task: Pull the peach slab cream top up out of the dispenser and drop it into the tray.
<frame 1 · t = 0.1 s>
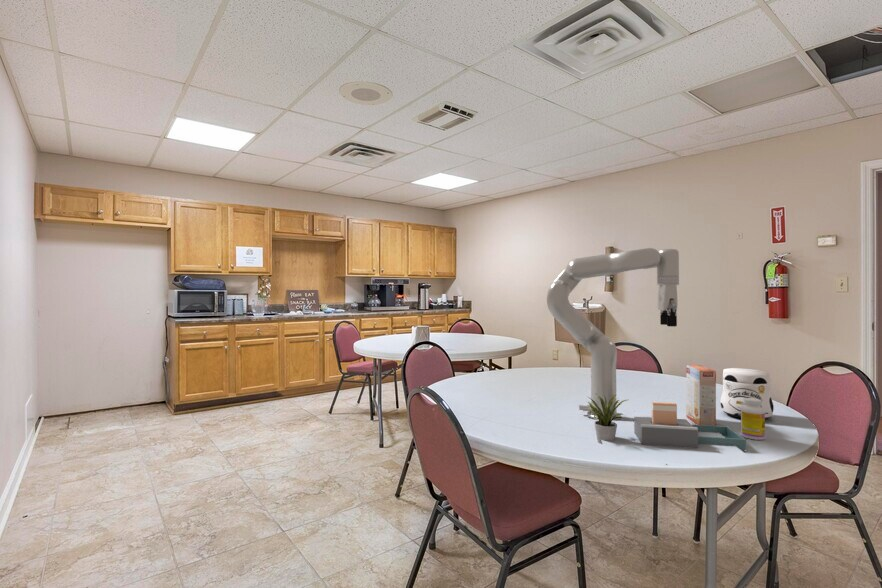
hand: (668, 325, 170), 37 cm above the table, tool pointing down, fingers open, 9 cm apart
peach slab cream top: (664, 439, 143), point 1 cm above the table, touching dispenser
dispenser: (664, 444, 143), on the table
milk container: (746, 417, 175), on the table
cracker box: (700, 422, 168), on the table
house plant: (609, 442, 146), on the table
supplement bottle: (753, 438, 150), on the table
tray: (712, 441, 145), on the table
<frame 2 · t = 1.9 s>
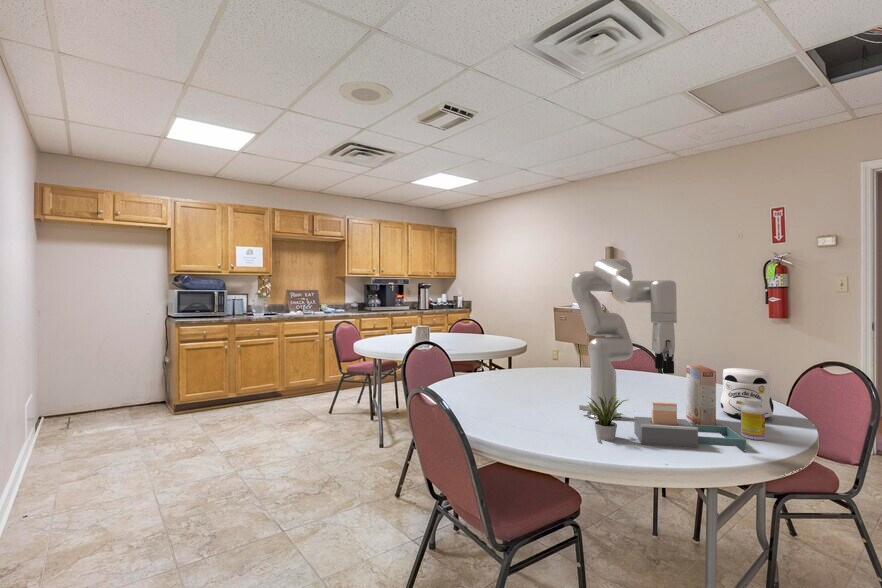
hand: (664, 370, 143), 24 cm above the table, tool pointing down, fingers open, 9 cm apart
nothing on the table moved.
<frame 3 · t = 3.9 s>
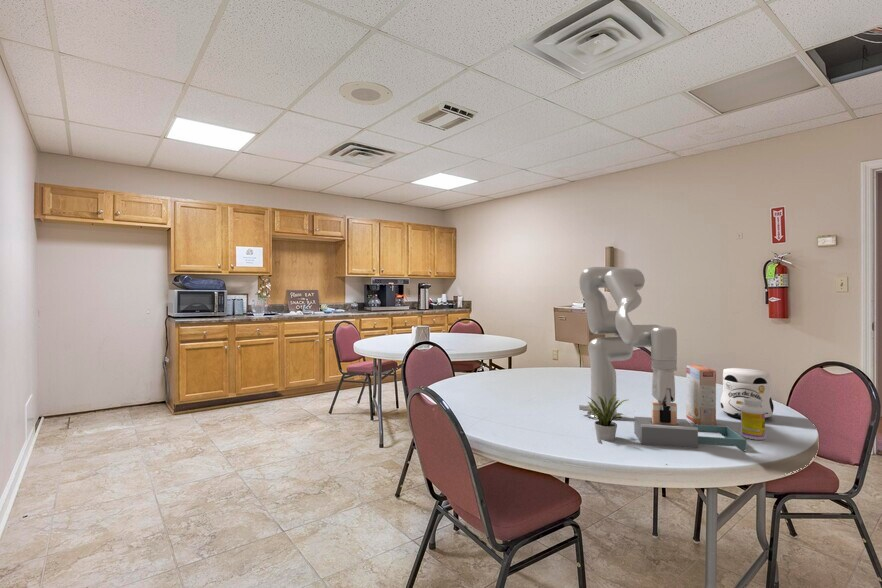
hand: (664, 421, 143), 8 cm above the table, tool pointing down, fingers closed on peach slab cream top, 1 cm apart
peach slab cream top: (664, 439, 143), point 2 cm above the table, touching gripper
everything else where it was.
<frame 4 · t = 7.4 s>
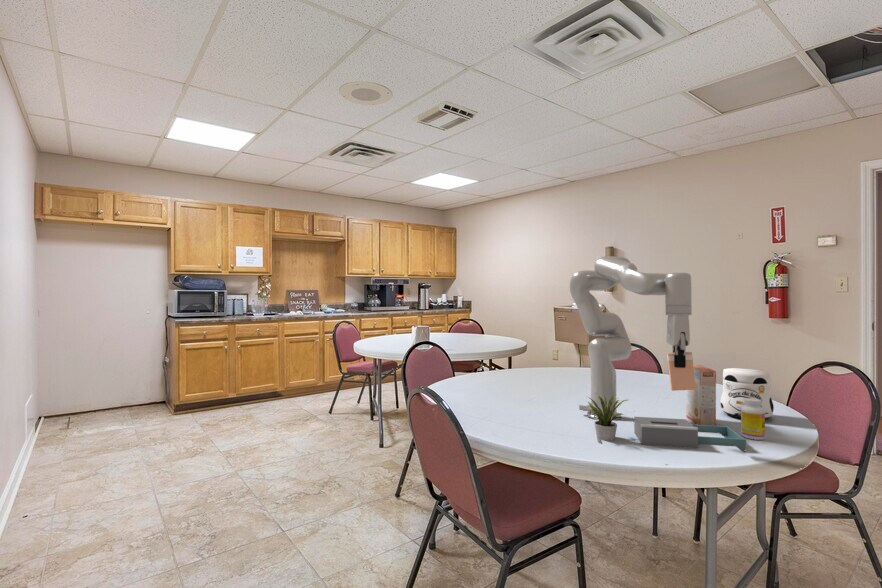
hand: (679, 366, 144), 25 cm above the table, tool pointing down, fingers closed on peach slab cream top, 1 cm apart
peach slab cream top: (683, 389, 143), point 18 cm above the table, tilted 5°, touching gripper
everything else where it was.
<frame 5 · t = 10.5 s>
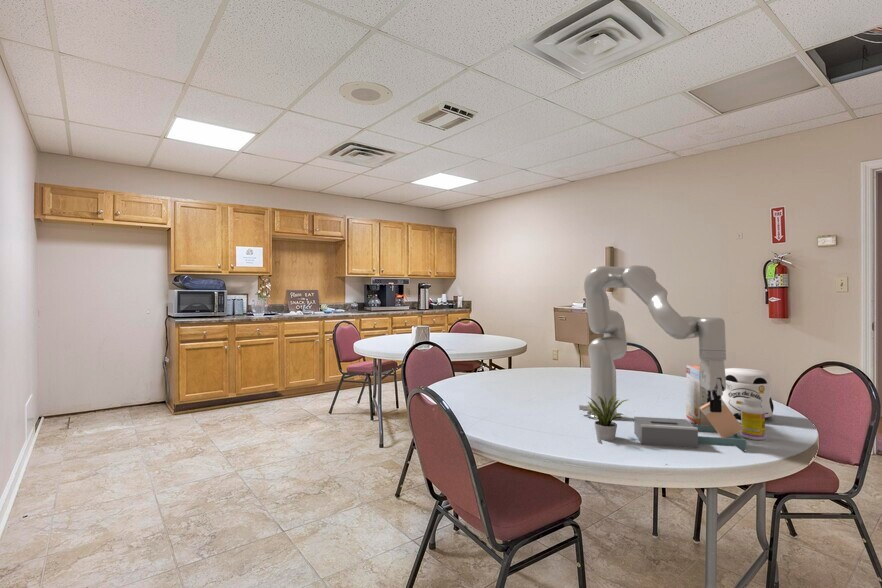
hand: (714, 410, 145), 10 cm above the table, tool pointing down, fingers closed on peach slab cream top, 1 cm apart
peach slab cream top: (732, 433, 144), point 3 cm above the table, tilted 34°, touching gripper, tray
everything else where it was.
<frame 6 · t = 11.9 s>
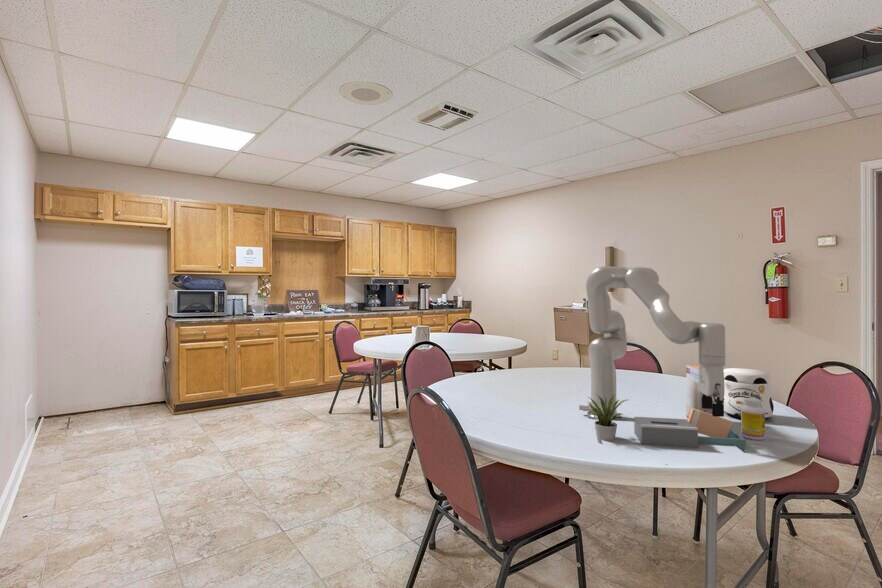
hand: (712, 412, 145), 10 cm above the table, tool pointing down, fingers open, 9 cm apart
peach slab cream top: (728, 431, 144), point 4 cm above the table, tilted 73°, touching dispenser, tray
everything else where it was.
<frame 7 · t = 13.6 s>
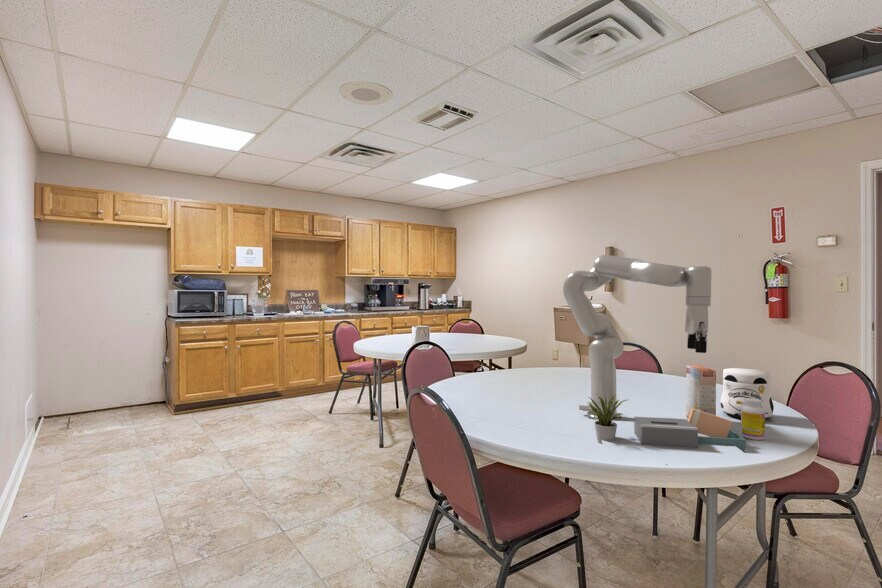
hand: (696, 350, 154), 29 cm above the table, tool pointing down, fingers open, 9 cm apart
nothing on the table moved.
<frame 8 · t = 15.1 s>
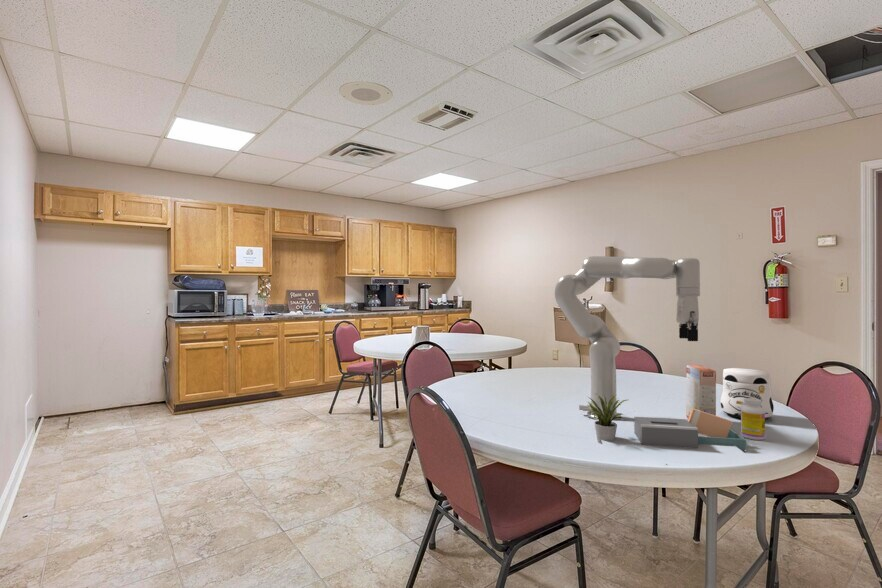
hand: (688, 339, 160), 32 cm above the table, tool pointing down, fingers open, 9 cm apart
nothing on the table moved.
at the end: peach slab cream top inside the target area on the tray (4.5 cm from its centre), point 4.0 cm above the tray's base; peach slab cream top moved 21.4 cm from its start; the gripper is holding nothing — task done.
